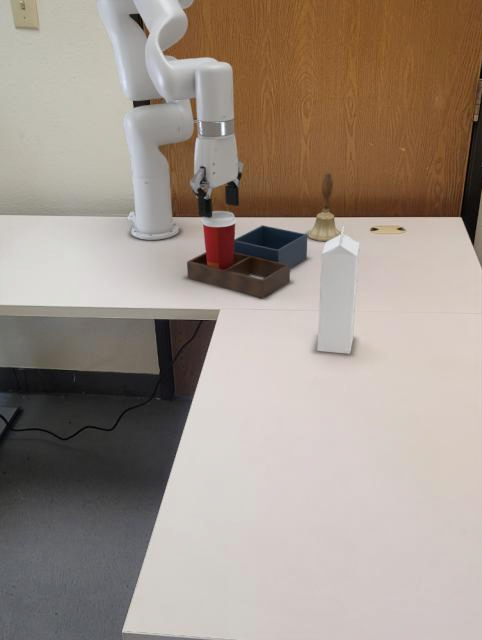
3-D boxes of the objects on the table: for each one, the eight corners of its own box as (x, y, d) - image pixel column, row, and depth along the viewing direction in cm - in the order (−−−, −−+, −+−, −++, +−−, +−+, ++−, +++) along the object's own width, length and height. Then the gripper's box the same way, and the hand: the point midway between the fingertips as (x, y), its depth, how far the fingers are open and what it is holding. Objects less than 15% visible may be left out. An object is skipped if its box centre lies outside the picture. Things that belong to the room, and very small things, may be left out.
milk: (317, 351, 132) (321, 235, 121) (321, 336, 137) (325, 224, 126) (350, 354, 131) (358, 237, 119) (353, 339, 136) (361, 225, 124)
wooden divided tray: (187, 278, 163) (186, 261, 161) (215, 263, 170) (215, 247, 168) (263, 298, 152) (263, 281, 150) (289, 281, 160) (290, 264, 158)
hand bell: (342, 231, 187) (345, 169, 179) (339, 242, 180) (342, 178, 172) (310, 229, 189) (312, 168, 181) (306, 240, 182) (308, 177, 174)
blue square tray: (232, 265, 169) (231, 240, 166) (262, 248, 178) (262, 225, 175) (278, 276, 163) (278, 250, 160) (306, 258, 171) (307, 234, 168)
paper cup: (238, 269, 167) (237, 209, 160) (236, 282, 160) (234, 221, 153) (205, 268, 168) (202, 209, 160) (201, 281, 161) (198, 221, 154)
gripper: (225, 119, 155) (228, 198, 164) (174, 134, 143) (180, 218, 152) (254, 122, 151) (255, 203, 160) (204, 138, 139) (208, 224, 148)
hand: (219, 210), depth 156 cm, fingers open, 9 cm apart
